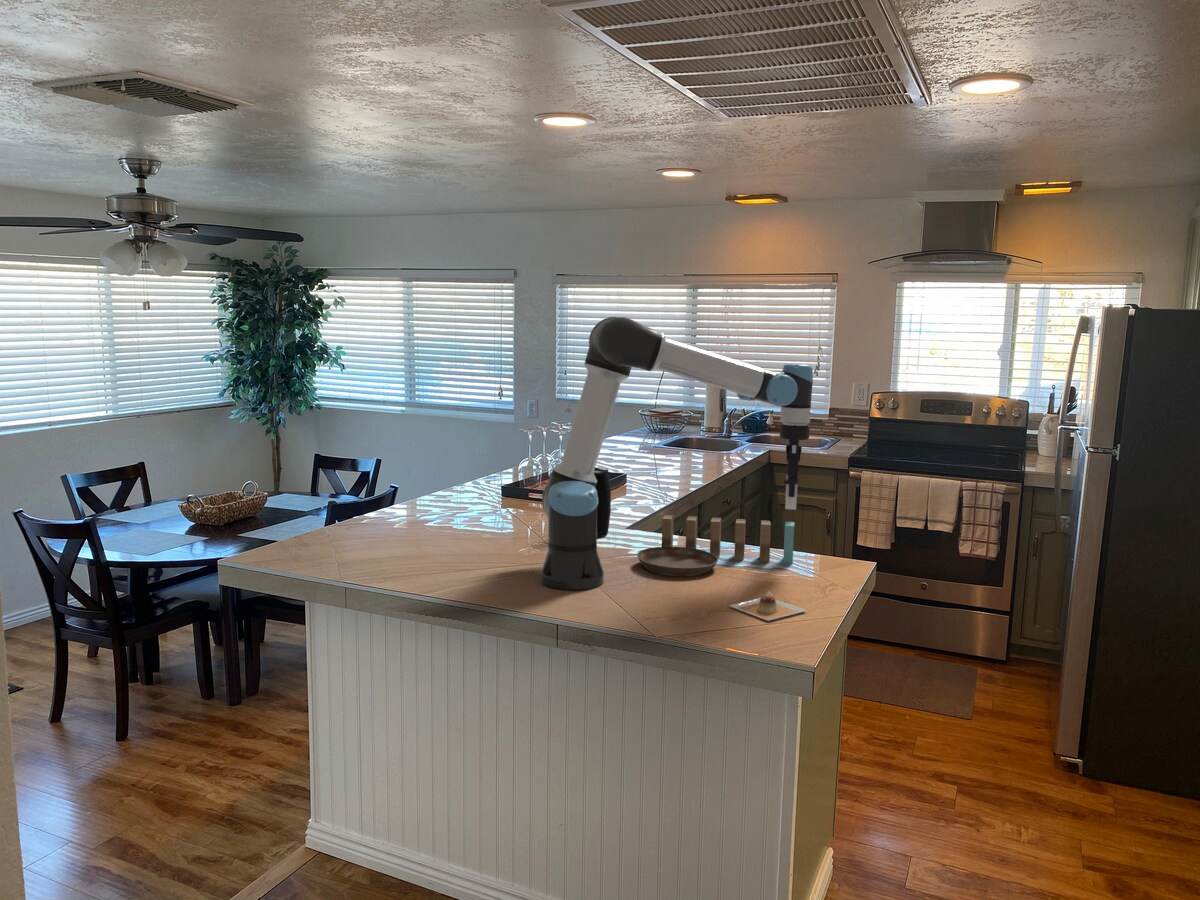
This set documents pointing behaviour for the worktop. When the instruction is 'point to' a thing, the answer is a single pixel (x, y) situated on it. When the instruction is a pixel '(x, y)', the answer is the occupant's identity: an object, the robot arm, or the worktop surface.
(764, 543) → the domino
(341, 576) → the worktop surface
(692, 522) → the domino
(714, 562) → the plant saucer
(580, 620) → the worktop surface
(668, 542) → the domino
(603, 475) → the portable speaker
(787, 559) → the domino
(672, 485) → the worktop surface
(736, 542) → the domino
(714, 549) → the domino
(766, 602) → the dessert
